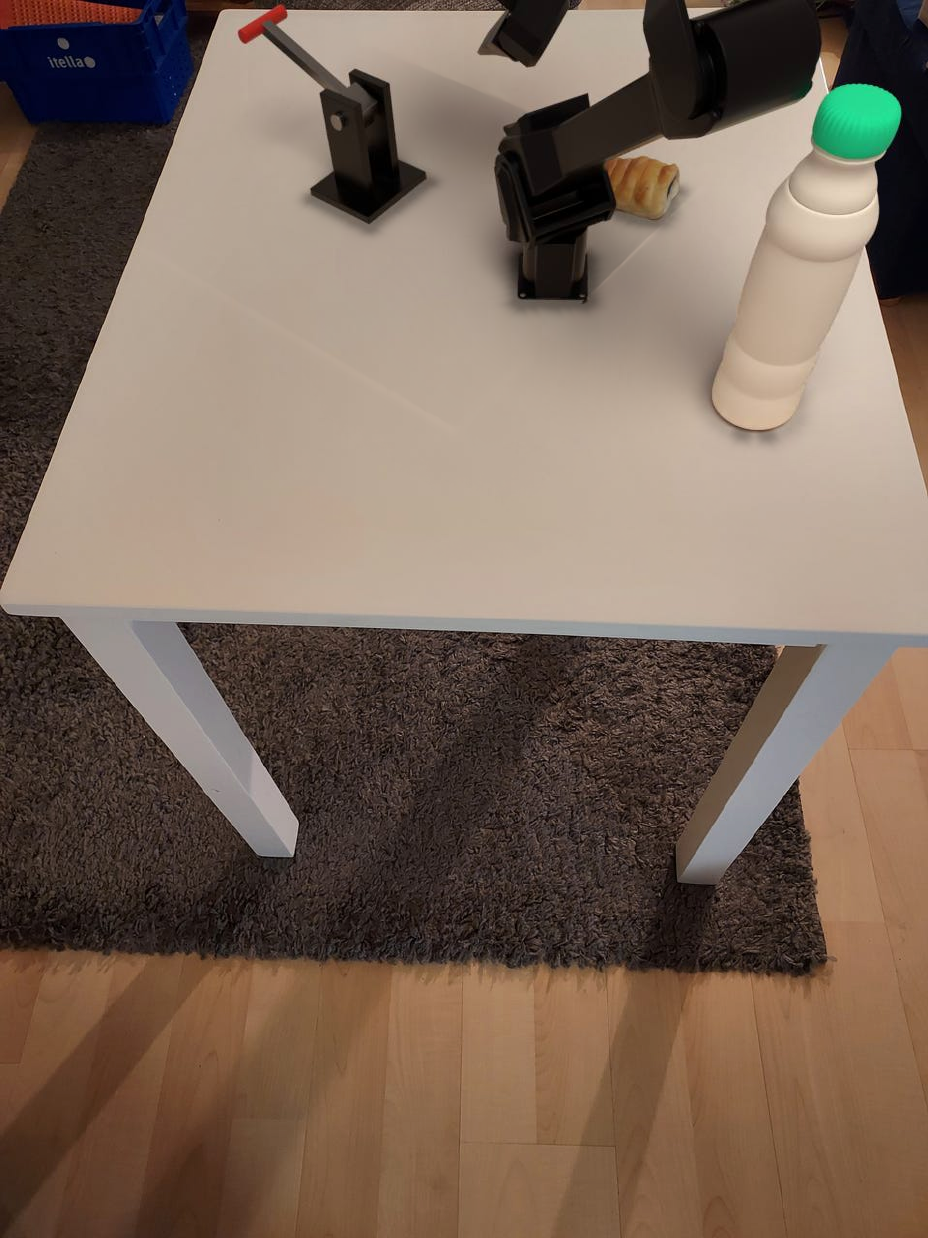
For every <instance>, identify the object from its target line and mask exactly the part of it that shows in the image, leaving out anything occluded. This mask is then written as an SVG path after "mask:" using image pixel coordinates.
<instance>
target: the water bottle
mask: <svg viewBox="0 0 928 1238" xmlns="http://www.w3.org/2000/svg"><path fill="white" fill-rule="evenodd" d="M901 119H902V107H901V105H900V101H899V100H898V99H897V97H895V96H894V94H893V93H891V92H889V91H888V90H885V89H884V88H881V87H879V86H876V85H875V86H874V85H873V84H867V83H864V84H862V83H857V84H856V83H851V84H850V83H847V84H845V85H840V86H837V87H834V88H833V89H832V90H831V91H829V92H828V93H827V94H826V95H825V96H824V97H823V99H822V100H821V102H820V104H819V106H818V108H817V111H816V114H815V117H814V120H813V123H812V128H811V133H812V134H811V136H810V144H811V146H812V150H811V151H810V152H809V153H808V154H807V155H806V156H805V157H804V158H802V159H801V160H800V161H799V163H797V164H796V166H795V167H794V169H793V171H792V172H791V173H790V174H789V175H788V176H787V177H786V178H784V180H783V181H782V182H781V183H780V184H779V185H778V186H777V188H776V189H775V191H774V192H773V194H772V196H771V197H770V199H769V202H768V205H767V208H766V212H765V224H764V227H763V229H762V231H761V233H760V237H759V239H758V241H757V244H756V247H755V249H754V253H753V255H752V257H751V261H750V264H749V267H748V271H747V273H746V277H745V281H744V283H743V287H742V291H741V294H740V298H739V302H738V306H737V310H736V315H735V320H734V325H733V326H732V328H731V329H730V331H729V334H728V337H727V338H726V342H725V346H724V350H723V355H722V360H721V363H720V364H719V366H718V368H717V372H716V375H715V378H714V380H713V383H712V388H711V399H712V400H711V401H712V403H713V406H714V408H715V409H716V411H717V413H719V415H720V416H721V417H722V418H723V419H725V420H726V421H728V422H729V423H731V424H732V425H734V426H736V427H738V428H742V429H746V430H751V431H765V430H770V429H771V430H772V429H775V428H777V427H780V426H781V425H783V424H785V423H786V422H788V421H789V420H790V419H791V418H792V416H793V415H794V414H795V412H796V410H797V409H798V406H799V403H800V401H801V399H802V396H803V394H804V390H805V387H806V382H808V380H809V378H810V377H811V375H812V374H813V373H812V372H813V371H814V369H815V367H816V364H817V362H818V359H819V356H820V352H821V346H822V345H823V343H824V341H825V339H826V338H827V336H828V334H829V332H830V330H831V328H832V327H833V324H834V322H835V320H836V318H837V316H838V314H839V312H840V310H841V307H842V305H843V303H844V300H845V298H846V296H847V293H848V291H849V290H850V286H851V284H852V281H853V279H854V277H855V274H856V271H857V269H858V266H859V263H860V261H861V257H862V255H863V251H864V248H865V246H866V245H867V244H868V243H869V242H870V240H871V238H872V236H874V233H875V231H876V228H877V225H878V222H879V215H880V204H879V195H878V182H879V181H878V175H877V170H876V167H875V165H876V162H877V161H878V160H880V159H881V158H883V156H884V155H885V154H886V152H887V149H888V148H889V147H890V146H891V145H892V142H893V141H894V139H895V137H896V135H897V133H898V130H899V126H900V123H901Z"/></svg>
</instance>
